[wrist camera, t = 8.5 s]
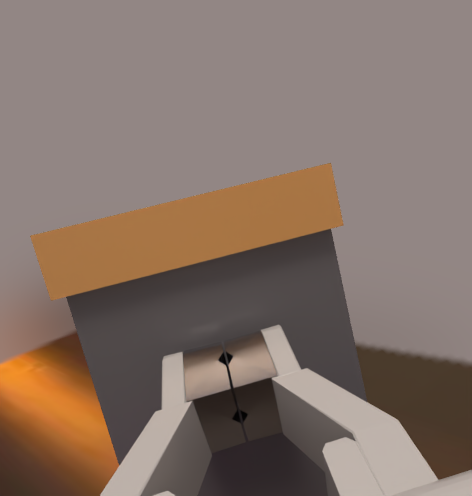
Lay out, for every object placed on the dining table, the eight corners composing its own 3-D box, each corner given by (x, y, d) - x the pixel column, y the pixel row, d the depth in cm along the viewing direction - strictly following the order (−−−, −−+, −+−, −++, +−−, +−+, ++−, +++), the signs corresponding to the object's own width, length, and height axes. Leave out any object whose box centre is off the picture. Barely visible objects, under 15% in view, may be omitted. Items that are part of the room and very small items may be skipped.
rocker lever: (426, 631, 11) (330, 162, 9) (184, 716, 10) (30, 235, 8) (382, 549, 13) (300, 173, 11) (187, 614, 13) (69, 229, 11)
